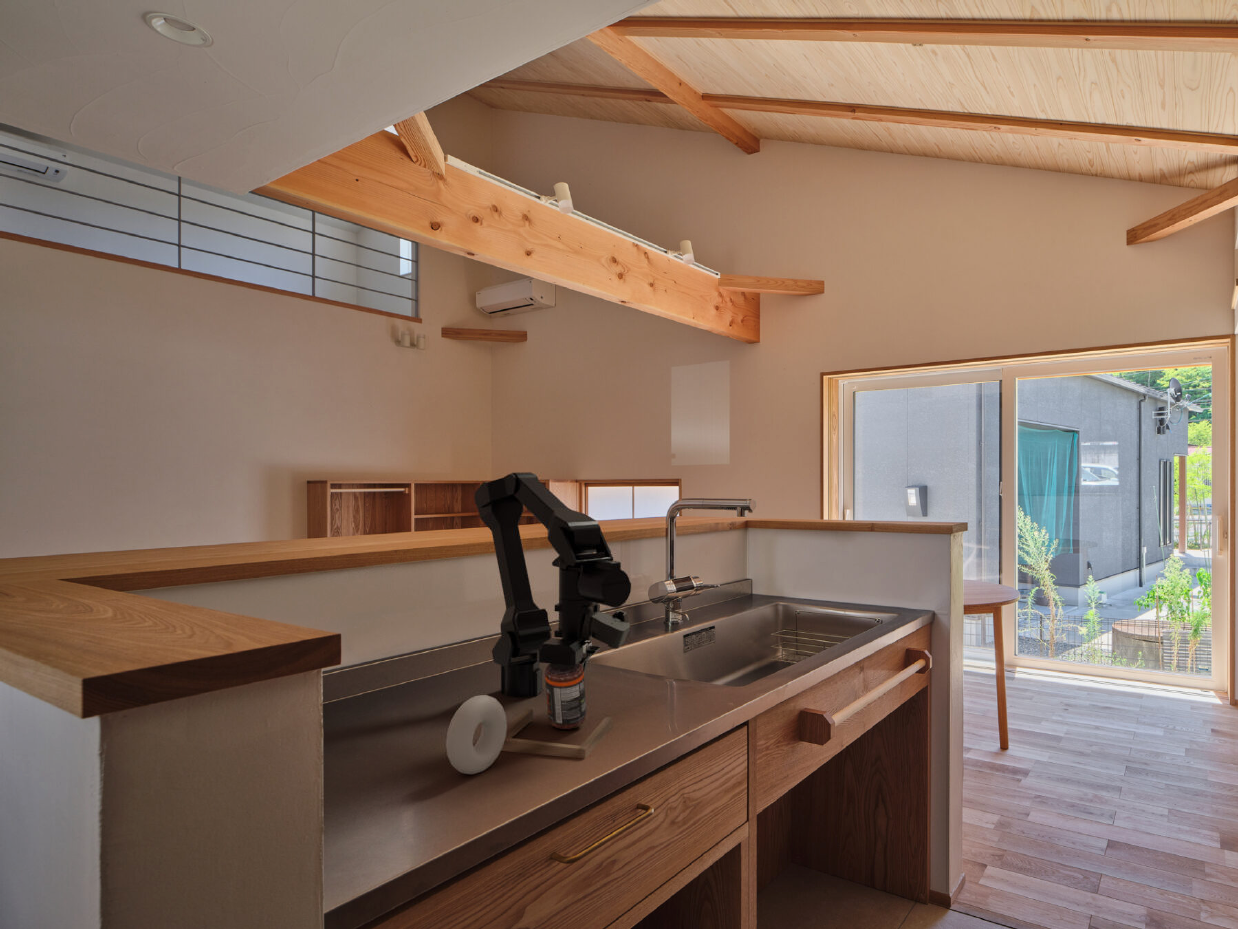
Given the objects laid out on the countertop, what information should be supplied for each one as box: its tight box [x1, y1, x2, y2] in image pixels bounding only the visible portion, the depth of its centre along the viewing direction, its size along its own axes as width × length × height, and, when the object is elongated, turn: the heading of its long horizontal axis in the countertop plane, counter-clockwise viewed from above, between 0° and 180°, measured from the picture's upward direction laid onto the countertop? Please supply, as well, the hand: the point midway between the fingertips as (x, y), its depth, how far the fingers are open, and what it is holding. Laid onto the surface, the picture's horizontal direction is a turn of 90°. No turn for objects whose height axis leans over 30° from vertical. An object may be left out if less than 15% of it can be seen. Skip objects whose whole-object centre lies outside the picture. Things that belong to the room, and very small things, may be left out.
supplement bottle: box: [544, 662, 587, 730], centre depth 114 cm, size 6×6×11 cm
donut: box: [445, 694, 508, 776], centre depth 97 cm, size 10×3×10 cm, turn 148°
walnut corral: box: [500, 708, 613, 759], centre depth 109 cm, size 14×13×2 cm
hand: (576, 693), depth 119 cm, fingers closed
